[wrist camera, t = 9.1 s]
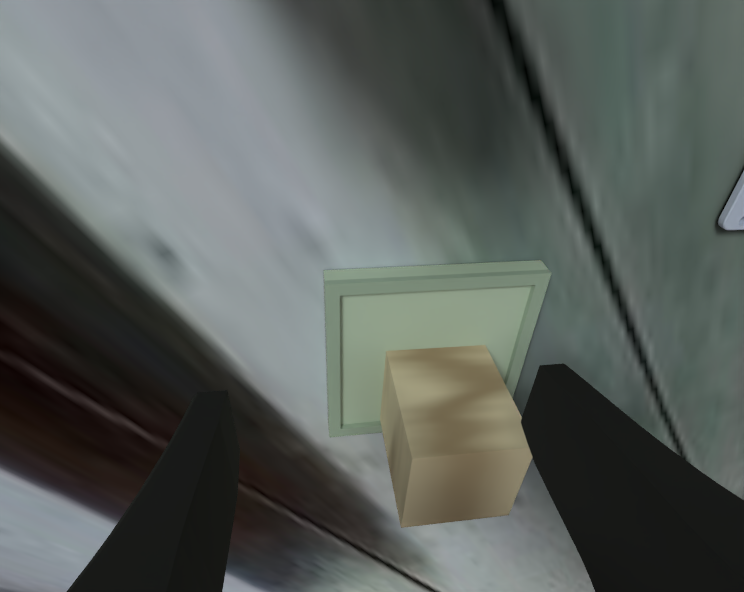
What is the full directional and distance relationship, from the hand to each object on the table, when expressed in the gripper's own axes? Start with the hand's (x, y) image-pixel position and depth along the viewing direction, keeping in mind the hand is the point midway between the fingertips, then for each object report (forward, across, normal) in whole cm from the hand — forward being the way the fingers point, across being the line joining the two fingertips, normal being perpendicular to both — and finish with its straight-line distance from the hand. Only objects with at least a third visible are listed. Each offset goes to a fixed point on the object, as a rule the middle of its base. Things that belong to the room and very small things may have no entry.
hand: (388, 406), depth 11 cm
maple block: (+9, -4, +9) cm, 14 cm away
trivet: (+10, -4, +8) cm, 13 cm away
